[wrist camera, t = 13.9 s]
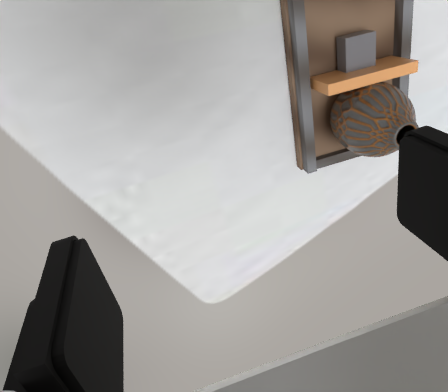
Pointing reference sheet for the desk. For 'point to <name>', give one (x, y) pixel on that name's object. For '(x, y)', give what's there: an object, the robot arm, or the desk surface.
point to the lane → (334, 63)
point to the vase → (372, 119)
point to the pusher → (360, 65)
